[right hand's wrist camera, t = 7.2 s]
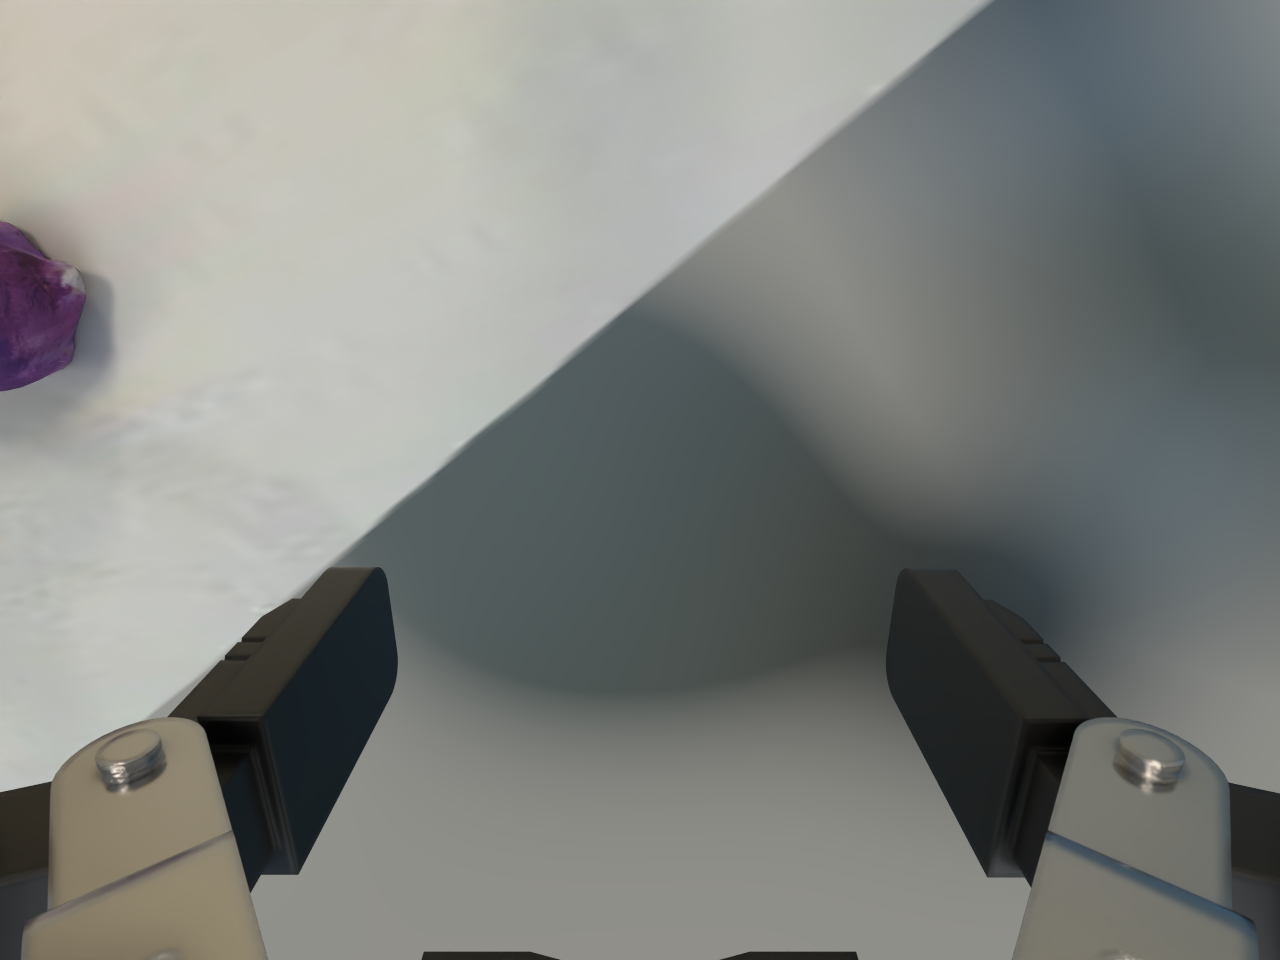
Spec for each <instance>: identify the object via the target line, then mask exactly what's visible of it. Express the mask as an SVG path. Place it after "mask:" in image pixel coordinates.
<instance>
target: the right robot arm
mask: <svg viewBox="0 0 1280 960" xmlns="http://www.w3.org/2000/svg"><path fill="white" fill-rule="evenodd" d="M397 667H398V656H397V647H396V640H395V633H394V626H393V619H392V611H391V604H390V597H389V590H388V583H387V579H386V575H385V573H384V571H383V570H382V569H381V568H379V567H330V568H328V569H327V570H326V571H325V572H324V573H323V574H322V575H321V576H320V578H319V579H318V580H317V581H316V582H315V583H314V584H313V586H312V587H311V588H310V589H309V590H308V591H307V592H306V593H305V595H304V596H303V597H302V598H301V599H291V600H289V601H288V602H286V603H284V604H283V605H281V606H279V607H277V608H276V609H274V610H272V611H271V612H269V613H267V614H266V615H264V616H262V617H261V618H260V619H259V620H258V621H257V622H256V623H255V624H254V626H253V627H252V628H251V629H250V630H249V631H248V632H247V633H246V634H245V635H244V636H243V637H242V642H238V643H237V644H236V645H235V646H234V647H233V648H232V649H231V650H230V651H229V652H228V653H227V654H226V655H225V660H221V661H220V662H219V663H218V664H217V665H216V666H215V667H214V668H213V669H212V670H211V671H210V672H209V673H208V674H207V675H206V676H205V678H204V679H203V680H202V681H201V682H200V683H199V684H198V685H197V686H196V687H195V688H194V689H193V690H192V691H191V692H190V693H189V695H188V696H187V697H186V698H185V699H184V700H183V701H182V702H181V703H180V704H179V705H178V706H177V707H176V708H175V709H174V710H173V712H172V713H171V714H170V715H169V716H168V717H166V718H157V719H150V720H146V721H141V722H138V723H134V724H131V725H128V726H125V727H122V728H120V729H117V730H114V731H112V732H110V733H108V734H106V735H104V736H102V737H100V738H98V739H96V740H94V741H93V742H91V743H89V744H88V745H86V746H85V747H83V748H82V749H80V750H79V751H78V752H77V753H75V754H74V755H73V756H72V757H70V758H69V759H68V760H67V761H66V762H65V763H64V764H63V765H62V766H61V768H60V769H59V770H58V772H57V773H56V775H55V777H54V779H53V781H52V782H47V783H42V784H38V785H33V786H28V787H23V788H19V789H14V790H9V791H5V792H0V960H268V957H267V953H266V949H265V946H264V942H263V938H262V935H261V931H260V928H259V924H258V920H257V917H256V913H255V909H254V906H253V902H252V898H251V895H250V893H251V891H252V889H253V888H254V886H255V884H256V882H257V881H258V879H259V877H260V875H298V874H299V872H300V870H301V868H302V866H303V865H304V863H305V861H306V859H307V857H308V855H309V853H310V851H311V849H312V847H313V845H314V843H315V841H316V839H317V838H318V836H319V834H320V832H321V830H322V828H323V826H324V824H325V822H326V820H327V818H328V816H329V814H330V812H331V811H332V808H333V807H334V805H335V803H336V801H337V799H338V797H339V795H340V793H341V791H342V789H343V787H344V785H345V783H346V782H347V780H348V778H349V776H350V774H351V772H352V770H353V768H354V766H355V764H356V762H357V760H358V758H359V757H360V755H361V753H362V751H363V749H364V747H365V745H366V743H367V741H368V739H369V737H370V735H371V733H372V731H373V730H374V727H375V726H376V724H377V722H378V720H379V718H380V716H381V714H382V712H383V710H384V708H385V706H386V704H387V703H388V701H389V699H390V697H391V695H392V692H393V689H394V686H395V682H396V676H397ZM886 672H887V679H888V684H889V688H890V691H891V694H892V696H893V699H894V700H895V702H896V704H897V706H898V708H899V710H900V712H901V714H902V716H903V718H904V719H905V721H906V723H907V725H908V727H909V729H910V731H911V733H912V735H913V737H914V738H915V740H916V742H917V744H918V746H919V748H920V750H921V752H922V754H923V756H924V758H925V759H926V761H927V763H928V765H929V767H930V769H931V771H932V773H933V775H934V777H935V779H936V780H937V782H938V784H939V786H940V788H941V790H942V792H943V794H944V796H945V798H946V799H947V801H948V803H949V805H950V807H951V809H952V811H953V813H954V815H955V817H956V819H957V820H958V822H959V824H960V826H961V828H962V830H963V832H964V834H965V836H966V837H967V839H968V841H969V843H970V845H971V847H972V849H973V851H974V853H975V855H976V857H977V859H978V860H979V862H980V864H981V866H982V868H983V870H984V872H985V874H986V876H987V877H1025V878H1026V880H1027V882H1028V883H1029V885H1030V887H1031V891H1030V895H1029V898H1028V902H1027V906H1026V909H1025V913H1024V917H1023V920H1022V924H1021V928H1020V931H1019V935H1018V938H1017V942H1016V946H1015V949H1014V953H1013V957H1012V960H1280V794H1279V793H1275V792H1270V791H1265V790H1261V789H1256V788H1251V787H1247V786H1242V785H1237V784H1233V783H1229V782H1228V781H1227V779H1226V777H1225V775H1224V773H1223V772H1222V770H1221V769H1220V768H1219V766H1218V765H1217V764H1216V763H1215V762H1214V761H1213V760H1212V759H1211V758H1210V757H1208V756H1207V755H1206V754H1205V753H1203V752H1202V751H1201V750H1200V749H1198V748H1197V747H1195V746H1194V745H1192V744H1191V743H1189V742H1187V741H1186V740H1184V739H1182V738H1180V737H1178V736H1176V735H1174V734H1172V733H1170V732H1168V731H1166V730H1163V729H1160V728H1158V727H1155V726H1152V725H1149V724H1146V723H1142V722H1139V721H1134V720H1129V719H1123V718H1117V716H1116V715H1115V714H1114V713H1113V712H1112V711H1111V710H1110V709H1109V708H1108V707H1107V706H1106V705H1105V704H1104V703H1103V702H1102V701H1101V700H1100V699H1099V698H1098V697H1097V695H1096V694H1095V693H1094V692H1093V691H1092V690H1091V689H1090V688H1089V687H1088V686H1087V685H1086V684H1085V683H1084V682H1083V681H1082V680H1081V679H1080V678H1079V677H1078V675H1077V674H1076V673H1075V672H1074V671H1073V670H1072V669H1071V668H1070V667H1069V666H1068V665H1067V664H1066V663H1065V662H1061V661H1060V657H1059V655H1058V654H1057V653H1056V652H1055V651H1054V650H1053V649H1052V648H1051V647H1050V646H1049V645H1048V644H1044V643H1043V639H1042V638H1041V637H1040V636H1039V634H1038V633H1037V632H1036V631H1035V630H1034V629H1033V628H1032V627H1031V626H1030V625H1029V624H1028V623H1027V622H1026V621H1025V620H1024V619H1023V618H1022V617H1020V616H1018V615H1017V614H1015V613H1013V612H1012V611H1010V610H1008V609H1007V608H1005V607H1003V606H1001V605H1000V604H998V603H996V602H995V601H993V600H983V598H982V597H981V596H980V595H979V594H978V593H977V592H976V591H975V590H974V588H973V587H972V586H971V585H970V584H969V583H968V582H967V581H966V579H965V578H964V577H963V576H962V575H961V574H960V573H959V572H958V571H957V570H956V569H953V568H905V569H903V570H902V571H901V572H900V574H899V576H898V579H897V584H896V590H895V597H894V604H893V611H892V618H891V626H890V632H889V639H888V646H887V654H886ZM422 960H559V959H555V958H551V957H548V956H544V955H540V954H537V953H533V952H424V953H423V957H422ZM721 960H858V957H857V953H856V952H747V953H743V954H740V955H736V956H733V957H729V958H725V959H721Z"/></svg>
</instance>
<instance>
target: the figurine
mask: <svg viewBox="0 0 1280 960" xmlns="http://www.w3.org/2000/svg"><path fill="white" fill-rule="evenodd" d="M85 298H86V289H85V285H84V281H83V278H82V275H81V273H80V272H79V270H78V269H77V268H75V267H74V266H73V265H72V264H70V263H68V262H63V261H54V260H49V259H47V258H46V257H45V256H44V255H43V254H42V253H41V252H40V251H39V250H37V249H36V248H35V247H34V245H33V244H32V243H30V241H29V240H28V239H27V238H26V237H25V235H24V234H23V233H22V232H21V231H20V230H19V229H18V228H16V227H15V226H13V225H11V224H9V223H6V222H0V391H7V390H12V389H16V388H20V387H23V386H26V385H28V384H30V383H33V382H35V381H38V380H40V379H42V378H44V377H45V376H48V375H50V374H52V373H54V372H56V371H59V370H61V369H63V368H65V367H66V366H67V365H68V364H69V363H70V362H71V361H72V358H73V353H74V348H75V346H74V342H73V339H74V335H75V330H76V327H77V325H78V322H79V319H80V315H81V312H82V308H83V305H84V302H85Z"/></svg>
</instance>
